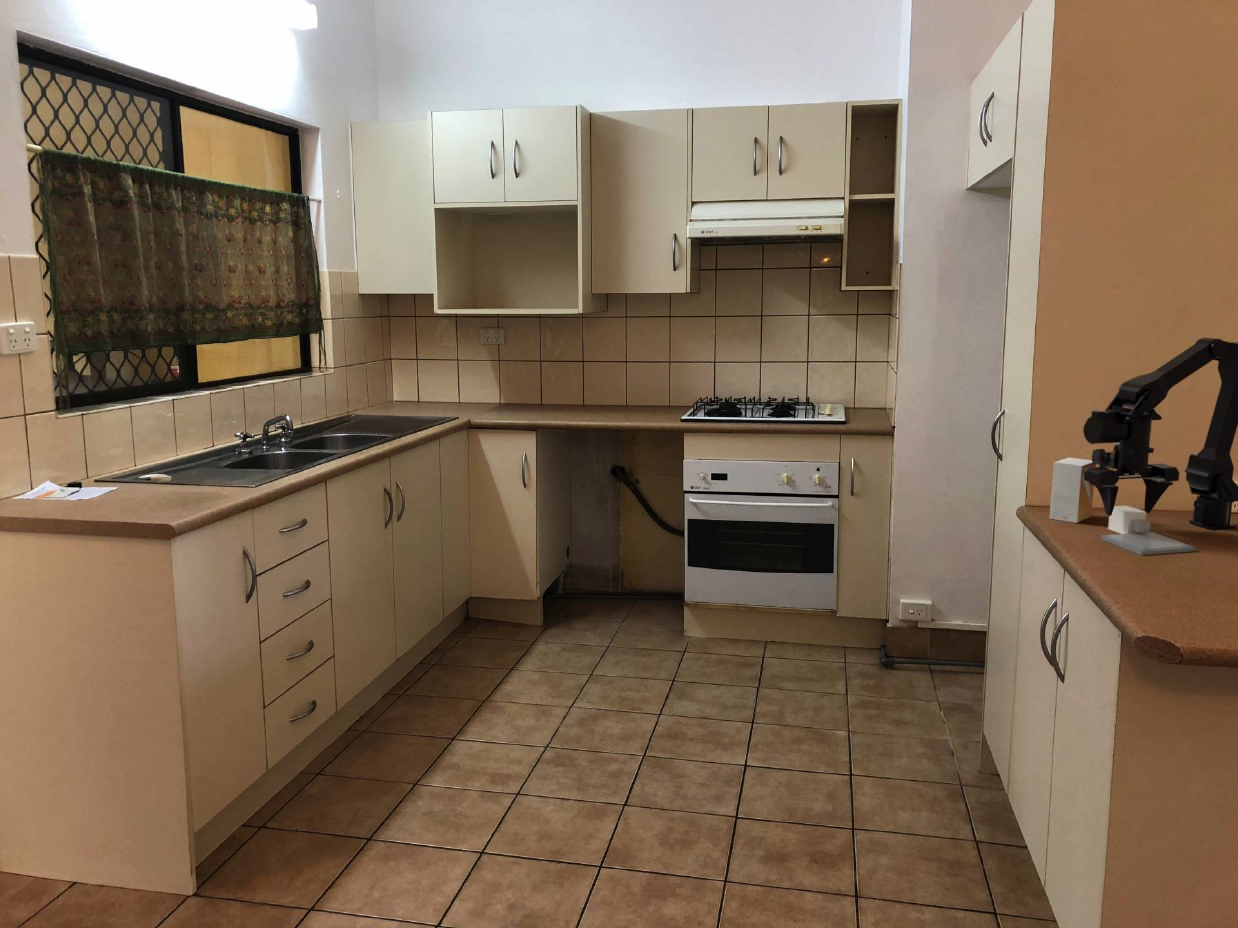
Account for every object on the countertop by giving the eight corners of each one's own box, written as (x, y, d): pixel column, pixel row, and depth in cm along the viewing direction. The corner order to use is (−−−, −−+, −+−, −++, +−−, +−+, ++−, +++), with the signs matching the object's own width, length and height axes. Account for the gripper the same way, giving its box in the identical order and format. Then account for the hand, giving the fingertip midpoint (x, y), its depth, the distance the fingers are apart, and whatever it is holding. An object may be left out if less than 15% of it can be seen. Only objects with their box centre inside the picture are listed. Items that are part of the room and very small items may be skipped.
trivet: (1151, 535, 207) (1152, 531, 207) (1195, 551, 196) (1195, 546, 196) (1100, 539, 205) (1101, 534, 205) (1141, 555, 194) (1141, 550, 193)
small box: (1077, 523, 218) (1082, 465, 215) (1048, 518, 222) (1052, 461, 219) (1092, 517, 223) (1097, 460, 220) (1063, 512, 228) (1068, 456, 225)
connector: (1124, 527, 214) (1126, 505, 213) (1152, 538, 206) (1154, 514, 205) (1108, 529, 213) (1110, 506, 212) (1135, 539, 205) (1137, 516, 204)
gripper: (1146, 433, 216) (1140, 502, 220) (1070, 437, 213) (1064, 507, 216) (1184, 441, 206) (1177, 514, 209) (1104, 446, 202) (1098, 520, 205)
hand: (1128, 514), depth 210 cm, fingers open, 9 cm apart
